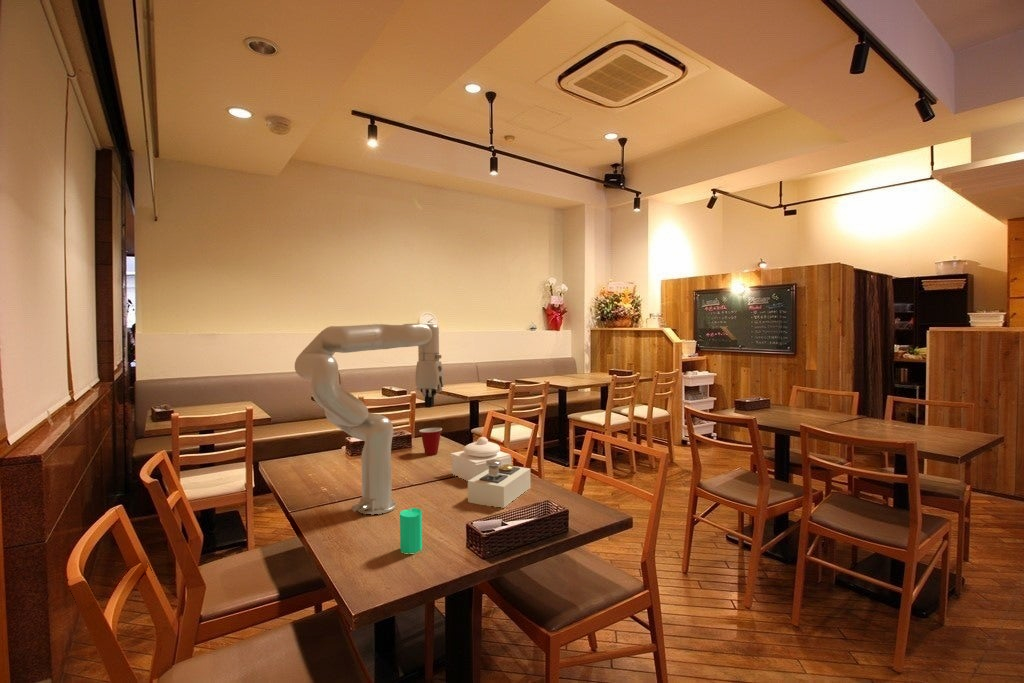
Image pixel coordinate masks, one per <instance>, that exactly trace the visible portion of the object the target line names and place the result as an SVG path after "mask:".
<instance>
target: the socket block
mask: <svg viewBox="0 0 1024 683" xmlns="http://www.w3.org/2000/svg"><path fill="white" fill-rule="evenodd" d="M501 465H502V464H501ZM501 465H500V466H501ZM500 466H499V479H497V480H493V479H489V469H488V470H486V471H484V472H482V473H481V474H479V475H477V476H475V477H474V478H472V479H470V480H468V482H467V503H469V504H476V505H481V506H485V505H486V506H487V507H491V506H494V507H493V508H496V507H501V508H500V509H502V508H504V507H506V506H507V505H508V504H509V503H511V502H512V501H513V500H515V499H516V498H517V497H519V496H520V495H521V494H523V493H524V492H525V491H526V492H528V491H529V490H530V489H531V488H532V487H531V468H529V467H522V466H516V465H515V466H514V465H513V466H514V470H512V471H510V472H507V471H501V470H500ZM528 489H529V490H528ZM527 490H528V491H527ZM526 492H525V493H526ZM525 493H524V494H525ZM524 494H523V495H524ZM521 496H522V495H521ZM521 496H520V497H521ZM520 497H519V498H520ZM517 499H518V498H517ZM517 499H516V500H517ZM516 500H515V501H516ZM512 503H513V502H512ZM512 503H511V504H512ZM508 506H509V505H508ZM508 506H507V507H508ZM507 507H506V508H507Z"/></svg>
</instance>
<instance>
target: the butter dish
mask: <svg viewBox="0 0 1024 683" xmlns="http://www.w3.org/2000/svg"><path fill="white" fill-rule="evenodd" d="M450 455H451V457H450V459H451V460H450V461H451V475H452V474H453V475H452V476H454V475H455V476H454V477H456V476H458V477H460V478H462V479H461V480H463V479H464V480H463V481H465V480H466V482H467V481H468V480H470V479H472V478H474V477H475V476H477V475H479V474H481V473H482V472H484V471H486V470H488V469H489V466H487V465H486V461H488V460H500V461H501V464H502V465H505V464H508V465H512V456H511V453H506V452H504V451H501V447H500V446H499V444H497V443H496V442H495V443H494V442H491V441H489V440H488V438H487V437H486V436H485V437H484V436H480V437H478V439H477V440H476V441H475V442H471V443H469V444H466V445H465V446H464V447H463V450H460V451H456V452H451V453H450ZM458 477H457V478H458ZM460 478H459V479H460Z"/></svg>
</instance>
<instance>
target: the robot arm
mask: <svg viewBox="0 0 1024 683" xmlns="http://www.w3.org/2000/svg"><path fill="white" fill-rule="evenodd" d="M439 333H440V328H439V326H438V325H437V324H436V323H435V324H434V323H428V324H427V323H405V324H404V323H403V324H383V323H378V324H377V323H373V324H360V325H337V326H336V325H333V326H332V325H331V326H327V327H325V328H324V329H323V330H321V331H320V332H319V333H318V334H317V335H316V336H315V337H314V338H313V339H312V341H311V342H310V343H309V344H308V345H306V347H305V348H303V350H302V351H301V352H300V353H299V354H298V356H297V357H296V359H295V361H294V371H295V372H296V374H297V375H298V376H299V377H300V378H303V379H305V380H311V385H310V386H311V393H312V398H313V400H314V402H315V403H317V405H318V406H320V407H321V408H322V409H323V410H324V415H325V417H326V419H327V420H328V421H329V422H330V423H331V424H332V425H334V426H335V427H337V428H338V429H340V430H341V431H343V432H344V433H346V434H347V435H349V436H351V437H352V438H354V439H357V440H360V441H364V445H363V448H362V450H361V458H360V459H361V462H360V463H361V497H360V498H359V501H358V503H356V504H354V505H352V506H351V510H352V512H355V513H356V511H358V512H359V513H360V514H362V513H363V514H362V515H366V514H371V515H370V516H375V515H374V514H378V515H382V513H383V514H387V513H389V512H391V511H393V510H395V509H396V508H397V501H396V500H394V499H392V494H393V493H392V444H393V443H392V441H393V436H394V426H393V423H392V421H391V420H390V419H389V418H388V417H387V416H385V415H383V414H378V413H375V412H373V413H372V412H369V409H368V407H367V406H366V404H365V403H364V402H363V401H362V400H361V399H360V398H358V397H356V396H355V395H353V394H352V393H351V392H349V391H348V390H347V389H346V388H344V387H343V386H342V385H341V384H340V382H339V364H338V362H337V360H336V359H335V357H334V355H335V353H343V354H347V353H357V352H364V351H365V352H366V351H377V350H388V349H389V350H390V349H398V348H409V347H417V352H418V354H417V355H418V357H417V358H418V360H417V362H416V366H415V375H414V376H415V382H414V383H415V386H416V391H419V392H420V393H421V394H422V396H423V397H424V408H426V409H430V408H434V405H435V396H436V395H437V393H441V392H443V388H444V386H445V380H444V379H445V377H444V369H443V364H442V361H440V359H442V354H440V336H439V335H440V334H439Z"/></svg>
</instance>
